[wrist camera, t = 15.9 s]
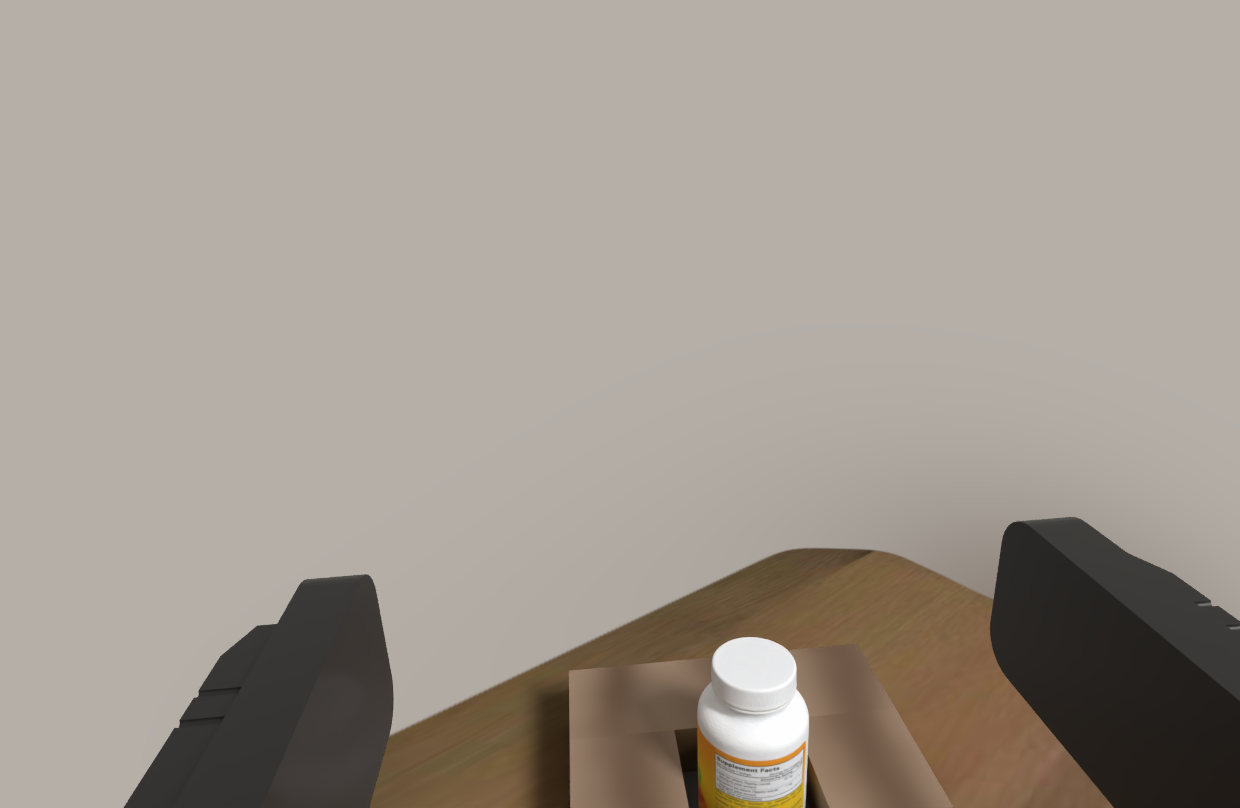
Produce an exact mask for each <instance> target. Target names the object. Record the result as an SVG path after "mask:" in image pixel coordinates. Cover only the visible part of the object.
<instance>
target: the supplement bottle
mask: <svg viewBox="0 0 1240 808" xmlns="http://www.w3.org/2000/svg"><path fill="white" fill-rule="evenodd" d="M796 671H797V668H796V662H795V660H794V658H793V656H792V655H791V653H790V652H789V651H788V650H787V649H785V648H784V647H783V646H781V645H779V644H777V643H775V642H773V641H770V640H767V639H763V638H756V637H744V638H738V639H734V640H731V641H728V642H726V643H725V644H723V645H722V646H720V647H719V648H718V649H717V650H716V652H715V653H714V655H713V658H712V669H711V677H712V682H711V683H710V684H709V685H708V686H707V687H706V688H705V689H704V691H703V692H702V694H701V696H700V699H699V702H698V711H697V740H698V806H699V808H805V806H806V782H807V759H808V738H809V714H808V709H807V706H806V703H805V701H804V699H803V697H802V696H801V694H800V693H799V692H798V690H797V689H796V687H797V681H796Z"/></svg>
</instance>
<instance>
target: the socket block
mask: <svg viewBox="0 0 1240 808" xmlns="http://www.w3.org/2000/svg"><path fill="white" fill-rule="evenodd" d="M788 651H789V652H790V653H791V655H792V656H793V658H794V660H795V662H796V668H797V671H796V681H797V687H796V689H797V690H798V692H799V693H800V694H801V696H802V697H803V699H804V701H805V703H806V706H807V709H808V714H809V738H808V759H807V782H806V806H805V808H953V806H952V804H951V803H950V801H949V799H948V797H947V796H946V794H945V792H944V791H943V789H942V787H941V785H940V784H939V782H938V780H937V779H936V777H935V775H934V773H933V772H932V770H931V768H930V767H929V765H928V763H927V762H926V760H925V758H924V756H923V755H922V753H921V751H920V750H919V748H918V746H917V744H916V743H915V741H914V739H913V738H912V736H911V734H910V732H909V731H908V729H907V727H906V726H905V724H904V722H903V721H902V719H901V717H900V715H899V714H898V712H897V710H896V709H895V707H894V705H893V703H892V702H891V700H890V698H889V697H888V695H887V693H886V691H885V690H884V688H883V686H882V685H881V683H880V681H879V680H878V678H877V676H876V674H875V673H874V671H873V669H872V668H871V666H870V664H869V662H868V661H867V659H866V657H865V656H864V654H863V652H862V650H861V649H860V647H859V645H858V644H851V645H840V646H829V647H819V648H808V649H797V650H788ZM712 658H713V657H712ZM712 658H701V659H690V660H679V661H669V662H658V663H647V664H637V665H626V666H615V667H604V668H594V669H583V670H572V671H569V725H570V808H699V806H698V740H697V711H698V702H699V699H700V696H701V694H702V692H703V691H704V689H705V688H706V687H707V686H708V685H709V684H710V683H711V682H712V677H711V669H712Z"/></svg>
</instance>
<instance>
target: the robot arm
mask: <svg viewBox="0 0 1240 808" xmlns="http://www.w3.org/2000/svg"><path fill="white" fill-rule="evenodd" d="M990 636H991V642H992V647H993V651H994V654H995V657H996V660H997V662H998V664H999V666H1000V668H1001V670H1002V671H1003V673H1004V674H1005V676H1006V677H1007V678H1008V680H1009V681H1010V682H1011V683H1012V685H1013V686H1014V687H1015V688H1016V689H1017V691H1018V692H1019V693H1020V694H1021V695H1022V697H1023V698H1024V699H1025V700H1026V701H1027V703H1028V704H1029V705H1030V706H1031V708H1032V709H1033V710H1034V711H1035V712H1036V714H1037V715H1038V716H1039V717H1040V718H1041V720H1042V721H1043V722H1044V723H1045V725H1046V726H1047V727H1048V728H1049V729H1050V731H1051V732H1052V733H1053V734H1054V735H1055V737H1056V738H1057V739H1058V740H1059V741H1060V743H1061V744H1062V745H1063V746H1064V748H1065V749H1066V750H1067V751H1068V752H1069V754H1070V755H1071V756H1072V757H1073V758H1074V760H1075V761H1076V762H1077V763H1078V764H1079V766H1080V767H1081V768H1082V769H1083V771H1084V772H1085V773H1086V774H1087V775H1088V777H1089V778H1090V779H1091V780H1092V781H1093V783H1094V784H1095V785H1096V786H1097V787H1098V789H1099V790H1100V791H1101V792H1102V794H1103V795H1104V796H1105V797H1106V798H1107V800H1108V801H1109V802H1110V803H1111V804H1112V806H1113V807H1114V808H1240V621H1239V620H1237V619H1236V618H1234V617H1233V616H1232V615H1230V614H1229V613H1227V612H1226V611H1225V610H1223V609H1222V608H1220V607H1219V606H1212V605H1211V601H1210V600H1209V599H1208V598H1206V597H1205V596H1204V595H1202V594H1200V593H1199V592H1198V591H1197V590H1195V589H1194V588H1192V587H1191V586H1190V585H1188V584H1187V583H1185V582H1184V581H1183V580H1181V579H1180V578H1178V577H1177V576H1176V575H1174V574H1173V573H1170V572H1168V571H1166V570H1164V569H1161V568H1160V567H1157V566H1155V565H1153V564H1151V563H1148V562H1146V561H1144V560H1142V559H1139V558H1137V557H1135V556H1133V555H1131V554H1128V553H1127V552H1125V551H1124V550H1123V549H1121V548H1119V547H1118V546H1117V545H1116V544H1114V543H1113V542H1112V541H1110V540H1109V539H1108V538H1106V537H1105V536H1104V535H1102V534H1101V533H1099V532H1098V531H1097V530H1095V529H1094V528H1093V527H1091V526H1090V525H1089V524H1087V523H1086V522H1084V521H1083V520H1081V519H1078V518H1075V517H1066V518H1053V519H1042V520H1030V521H1018V522H1013V523H1012V524H1010V525H1009V526H1008V527H1007V529H1006V530H1005V532H1004V535H1003V539H1002V546H1001V552H1000V559H999V566H998V573H997V581H996V587H995V594H994V601H993V608H992V615H991V623H990ZM392 717H393V683H392V675H391V669H390V664H389V659H388V653H387V648H386V642H385V637H384V632H383V626H382V621H381V615H380V610H379V604H378V599H377V594H376V589H375V586H374V583H373V580H372V579H371V577H370V576H369V575H353V576H342V577H330V578H318V579H307V580H304V581H303V582H301V584H300V585H299V587H298V588H297V590H296V592H295V594H294V595H293V597H292V599H291V601H290V602H289V604H288V606H287V608H286V610H285V612H284V613H283V615H282V617H281V618H280V620H279V622H278V624H272V625H261V626H256V627H255V628H254V629H253V630H252V631H250V632H249V633H248V634H247V635H246V636H245V637H243V638H242V639H241V640H240V641H238V642H237V643H236V644H235V645H234V646H232V647H231V648H230V649H229V650H228V651H226V652H225V653H224V654H223V655H222V656H220V658H219V660H218V661H217V663H216V664H215V666H214V667H213V669H212V670H211V672H210V674H209V675H208V677H207V678H206V680H205V681H204V683H203V685H202V686H201V688H200V689H199V696H198V697H197V698H194V699H193V700H192V702H191V703H190V705H189V706H188V708H187V710H186V711H185V713H184V714H183V716H182V717H181V719H180V726H179V728H174V730H173V731H172V733H171V735H170V736H169V738H168V739H167V741H166V742H165V744H164V746H163V747H162V749H161V750H160V752H159V753H158V755H157V757H156V758H155V760H154V761H153V763H152V764H151V766H150V767H149V769H148V770H147V772H146V774H145V775H144V777H143V778H142V780H141V781H140V783H139V784H138V786H137V788H136V789H135V791H134V792H133V794H132V796H131V797H130V799H129V800H128V802H127V803H126V805H125V806H124V808H369V806H370V803H371V799H372V796H373V792H374V788H375V785H376V781H377V777H378V774H379V770H380V767H381V763H382V759H383V756H384V752H385V749H386V745H387V741H388V738H389V734H390V730H391V724H392Z"/></svg>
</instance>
